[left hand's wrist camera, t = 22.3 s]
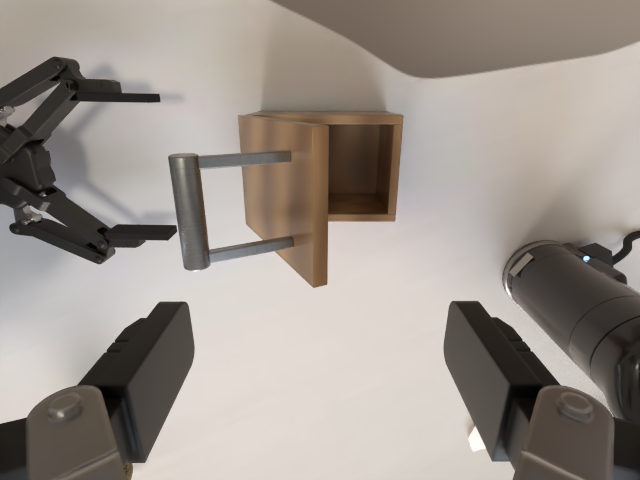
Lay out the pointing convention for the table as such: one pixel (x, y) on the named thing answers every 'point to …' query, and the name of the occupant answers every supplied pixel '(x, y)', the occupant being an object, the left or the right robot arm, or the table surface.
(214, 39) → the table surface
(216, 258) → the wooden door panel
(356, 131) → the chest
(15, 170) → the right robot arm
